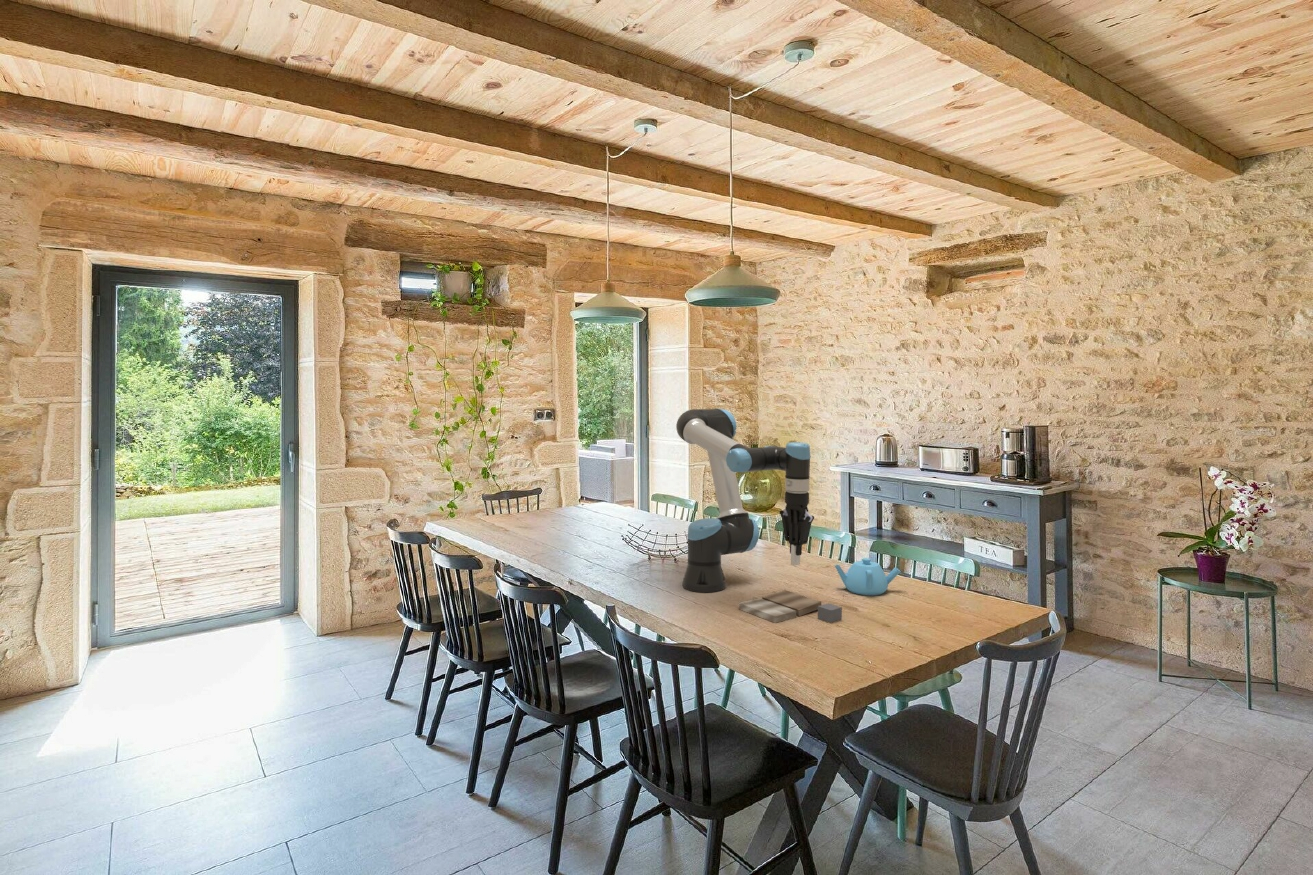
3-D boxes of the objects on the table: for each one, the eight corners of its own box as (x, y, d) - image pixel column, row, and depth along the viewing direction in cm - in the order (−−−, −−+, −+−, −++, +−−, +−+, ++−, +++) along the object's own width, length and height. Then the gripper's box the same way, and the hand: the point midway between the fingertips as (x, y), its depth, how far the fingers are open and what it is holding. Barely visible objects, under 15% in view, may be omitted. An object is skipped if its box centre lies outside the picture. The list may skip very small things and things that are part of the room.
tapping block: (817, 619, 212) (817, 606, 211) (828, 615, 215) (828, 603, 214) (830, 623, 208) (830, 610, 207) (841, 620, 211) (841, 607, 210)
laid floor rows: (738, 609, 221) (738, 602, 221) (759, 604, 226) (759, 597, 226) (774, 622, 208) (775, 616, 208) (796, 617, 213) (796, 610, 213)
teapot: (876, 600, 230) (877, 567, 229) (832, 589, 243) (833, 557, 242) (901, 592, 240) (902, 559, 239) (858, 581, 253) (858, 551, 252)
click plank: (762, 603, 227) (762, 597, 226) (784, 595, 232) (784, 589, 232) (799, 616, 214) (798, 609, 213) (821, 607, 219) (821, 601, 219)
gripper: (773, 489, 225) (772, 561, 226) (804, 495, 214) (802, 570, 216) (790, 487, 229) (788, 558, 231) (820, 493, 218) (819, 567, 220)
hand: (795, 564), depth 223 cm, fingers closed
